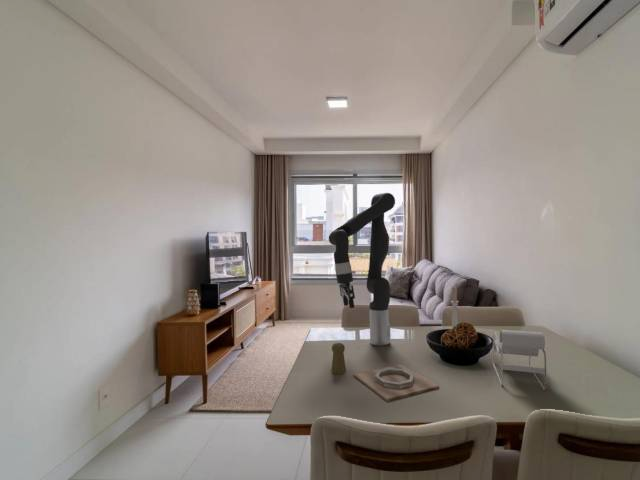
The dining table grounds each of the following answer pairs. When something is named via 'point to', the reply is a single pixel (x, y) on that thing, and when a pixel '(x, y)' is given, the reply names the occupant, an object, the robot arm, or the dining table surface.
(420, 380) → the collar holder
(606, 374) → the dining table surface
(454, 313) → the candlestick
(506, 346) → the chair
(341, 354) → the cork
